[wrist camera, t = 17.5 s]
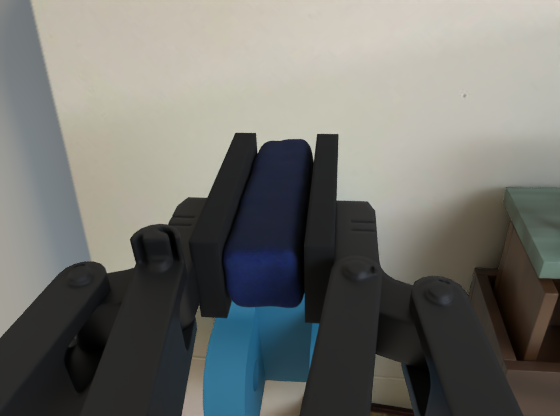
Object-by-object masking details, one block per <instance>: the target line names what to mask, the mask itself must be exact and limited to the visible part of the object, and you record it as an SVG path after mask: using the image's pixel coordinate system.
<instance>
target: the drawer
mask: <svg viewBox="0 0 560 416" xmlns="http://www.w3.org/2000/svg"><path fill="white" fill-rule="evenodd" d="M503 203H504V205H505V208H506V210H507V212H508V214H509V216H510V218H511V221H510V225H509V229H508V233H507V237H506V241H505V245H504V249H503V253H502V257H501V261H500V265H499V269H498V273H497V277H496V281H495V285H494V289H493V293H494V296H495V299H496V302H497V305H498V308H499V311H500V314H501V317H502V319H503V322H504V325H505V328H506V331H507V334H508V337H509V340H510V343H511V345H512V348H513V351H514V354H515V357H516V361H533V362H552V363H560V188H522V187H506V190H505V194H504V198H503Z"/></svg>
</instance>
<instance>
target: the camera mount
mask: <svg viewBox="0 0 560 416" xmlns="http://www.w3.org/2000/svg"><path fill="white" fill-rule="evenodd" d="M318 328H319V324H318V323H305V293H304V297H303V300H302V302H301V303H300V304H299V305H298V306H297V307H294V308H283V307H275V306H265V307H241V306H238V305H236V304H235V303H234V302H233V301H232V303H231V306H230V310H229V314H228V317H227V318H216V319H215V323H214V326H213V330H212V333H211V336H210V340H209V345H208V349H207V355H206V362H205V370H204V382H203V410H204V416H260V410H261V404H262V398H263V391H264V385H265V380H277V381H295V382H307V378H308V374H309V369H310V365H311V360H312V355H313V351H314V346H315V342H316V337H317V333H318Z"/></svg>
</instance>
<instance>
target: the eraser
mask: <svg viewBox="0 0 560 416" xmlns="http://www.w3.org/2000/svg"><path fill="white" fill-rule="evenodd" d="M313 166H314V161H313V156H312V151H311V148H310V146H309V144H308V143H307V142H306V141H305V140H303V139H288V140H283V141H269V142H266V143H265V144H263V146H262V147H261V149H260V150H259V152H258V154H257V155H256V157H255V159H254V162H253V166H252V172H251V177H250V179H249V181H248V183H247V186H246V189H245V192H244V194H243V196H242V198H241V200H240V206H239V211H238V213H237V216H236V219H235V221H234V224H233V227H232V230H231V233H230V237H229V238H228V240H227V242H226V244H225V247H224V250H223V254H222V258H223V265H224V270H225V282H226V288H227V291H228V293H229V296H230V298H231V299H232V301H233V302H234V303H235V304H236V305H238V306H241V307H265V306H275V307H283V308H294V307H297V306H298V305H299V304H300V303H301V302H302V300H303V297H304V293H305V288H304V242H305V233H306V225H307V216H308V208H309V200H310V191H311V183H312V174H313Z"/></svg>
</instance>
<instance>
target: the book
mask: <svg viewBox="0 0 560 416" xmlns="http://www.w3.org/2000/svg"><path fill="white" fill-rule="evenodd" d="M370 416H415V415H414V411H413V410H411V409H405V408H398V407H392V406H385V405H379V404H373V403H371V411H370Z"/></svg>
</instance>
